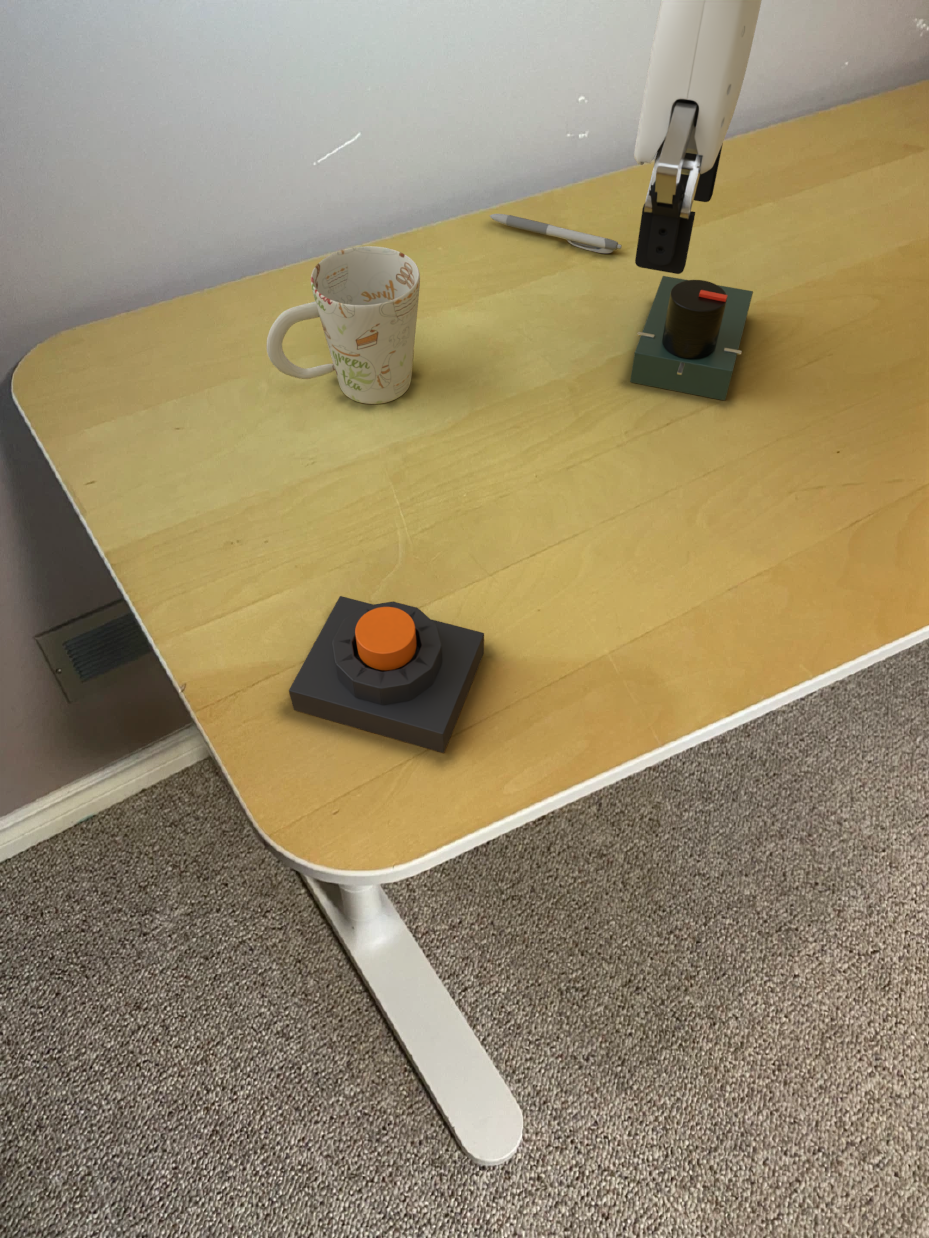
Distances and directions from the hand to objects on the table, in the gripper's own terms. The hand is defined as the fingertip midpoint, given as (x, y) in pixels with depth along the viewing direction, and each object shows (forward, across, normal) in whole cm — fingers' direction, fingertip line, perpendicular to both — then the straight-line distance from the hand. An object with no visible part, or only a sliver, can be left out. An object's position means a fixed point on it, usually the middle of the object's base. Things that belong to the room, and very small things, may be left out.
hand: (674, 231), depth 65 cm
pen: (+16, -24, -14) cm, 32 cm away
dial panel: (+16, -10, +2) cm, 19 cm away
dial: (+13, -7, +2) cm, 15 cm away
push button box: (+16, +31, -9) cm, 36 cm away
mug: (+16, +4, -24) cm, 29 cm away
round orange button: (+12, +31, -9) cm, 35 cm away
